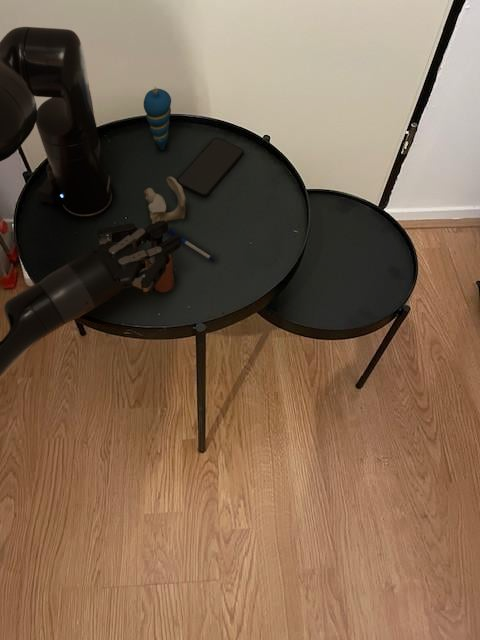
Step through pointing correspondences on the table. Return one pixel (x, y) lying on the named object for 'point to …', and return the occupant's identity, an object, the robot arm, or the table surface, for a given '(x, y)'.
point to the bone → (159, 205)
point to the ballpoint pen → (192, 246)
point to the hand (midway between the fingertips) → (172, 231)
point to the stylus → (156, 237)
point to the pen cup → (166, 277)
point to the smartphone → (210, 167)
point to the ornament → (158, 115)
